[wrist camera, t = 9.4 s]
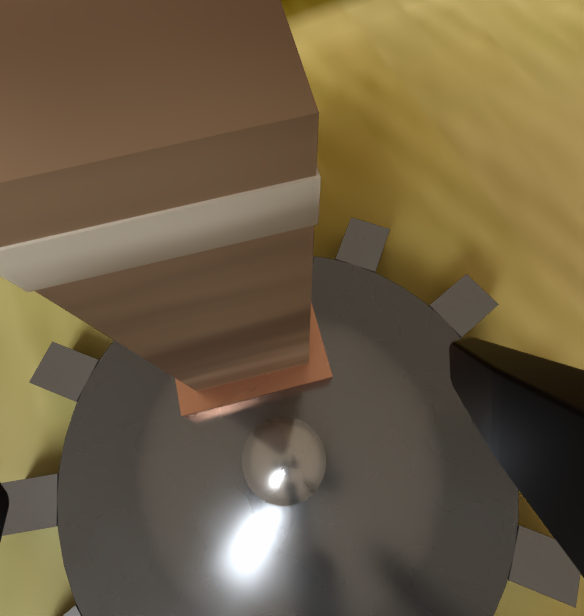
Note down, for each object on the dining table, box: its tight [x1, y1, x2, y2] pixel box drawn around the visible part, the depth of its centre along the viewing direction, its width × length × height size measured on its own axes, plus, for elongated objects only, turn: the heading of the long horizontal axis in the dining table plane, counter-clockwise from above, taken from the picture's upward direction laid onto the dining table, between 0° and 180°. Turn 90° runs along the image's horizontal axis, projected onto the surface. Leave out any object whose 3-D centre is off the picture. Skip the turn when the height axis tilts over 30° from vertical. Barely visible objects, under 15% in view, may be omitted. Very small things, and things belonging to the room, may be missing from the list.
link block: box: [0, 0, 321, 391], centre depth 11 cm, size 5×5×13 cm
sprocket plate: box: [1, 217, 580, 616], centre depth 16 cm, size 21×21×2 cm
